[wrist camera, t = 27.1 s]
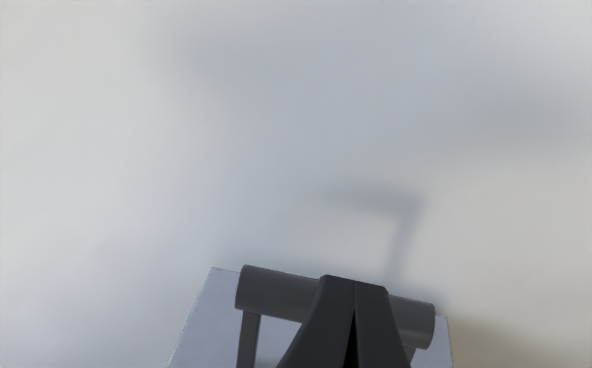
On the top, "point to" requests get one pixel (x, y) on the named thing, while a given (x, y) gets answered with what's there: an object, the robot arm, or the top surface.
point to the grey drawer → (284, 322)
